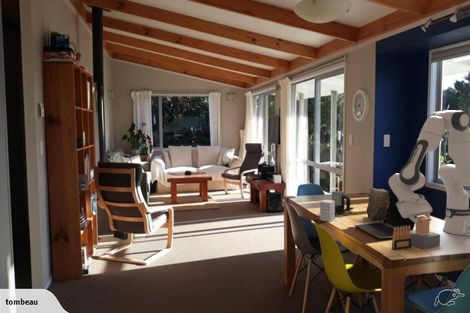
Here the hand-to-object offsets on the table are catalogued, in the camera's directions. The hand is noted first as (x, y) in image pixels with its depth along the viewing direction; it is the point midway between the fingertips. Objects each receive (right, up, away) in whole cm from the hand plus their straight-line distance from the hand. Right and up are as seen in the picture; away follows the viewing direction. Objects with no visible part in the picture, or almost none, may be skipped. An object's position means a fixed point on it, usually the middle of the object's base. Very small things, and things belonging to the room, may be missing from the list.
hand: (423, 222), depth 207 cm
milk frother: (-23, -6, +74) cm, 77 cm away
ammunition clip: (-14, -13, -5) cm, 19 cm away
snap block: (0, -6, +1) cm, 6 cm away
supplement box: (-38, -8, +54) cm, 66 cm away
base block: (0, -12, +2) cm, 12 cm away
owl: (-7, -7, +53) cm, 54 cm away
